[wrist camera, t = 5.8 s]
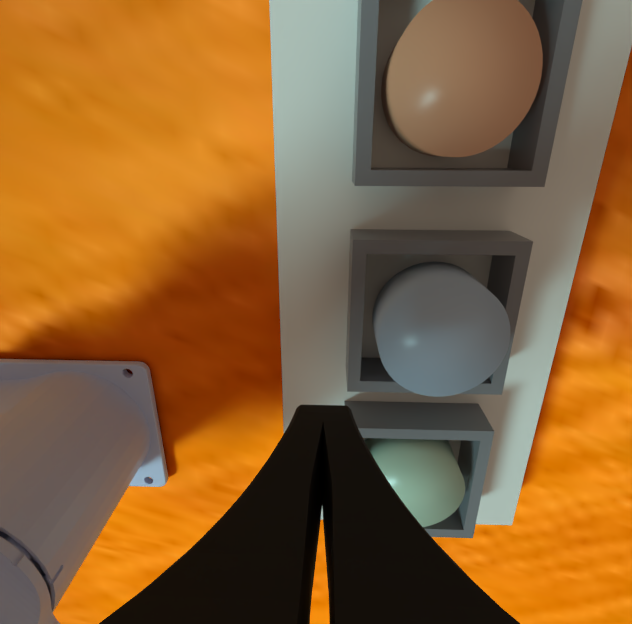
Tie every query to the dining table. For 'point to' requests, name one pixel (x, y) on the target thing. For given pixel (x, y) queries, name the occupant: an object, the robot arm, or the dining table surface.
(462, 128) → the terracotta button
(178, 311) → the dining table surface
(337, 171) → the button console
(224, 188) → the dining table surface
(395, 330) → the dusty blue button
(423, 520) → the sage button
